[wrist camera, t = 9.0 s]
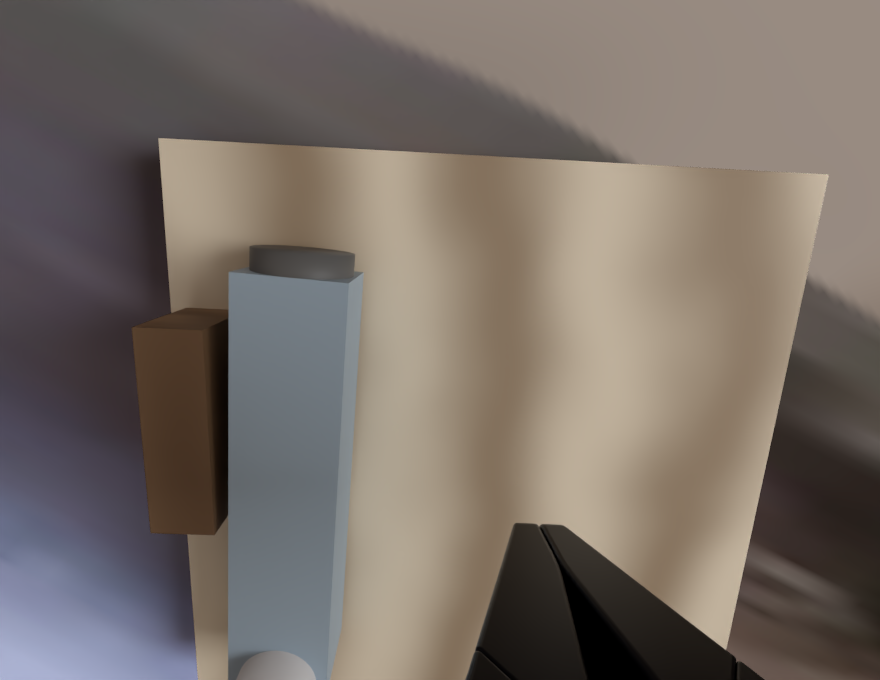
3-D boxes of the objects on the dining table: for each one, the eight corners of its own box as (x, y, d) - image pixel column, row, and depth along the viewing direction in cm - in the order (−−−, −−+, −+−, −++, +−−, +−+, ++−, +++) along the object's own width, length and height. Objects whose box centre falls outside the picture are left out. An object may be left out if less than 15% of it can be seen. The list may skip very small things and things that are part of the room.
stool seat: (225, 640, 22) (198, 693, 19) (197, 149, 17) (158, 138, 15) (682, 654, 22) (713, 708, 20) (774, 180, 18) (829, 174, 15)
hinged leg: (340, 644, 19) (318, 743, 15) (258, 638, 19) (217, 736, 15) (365, 252, 15) (344, 261, 12) (265, 242, 15) (215, 249, 12)
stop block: (198, 480, 17) (150, 532, 14) (186, 307, 16) (131, 327, 13) (251, 482, 17) (214, 535, 14) (244, 310, 16) (202, 330, 13)
